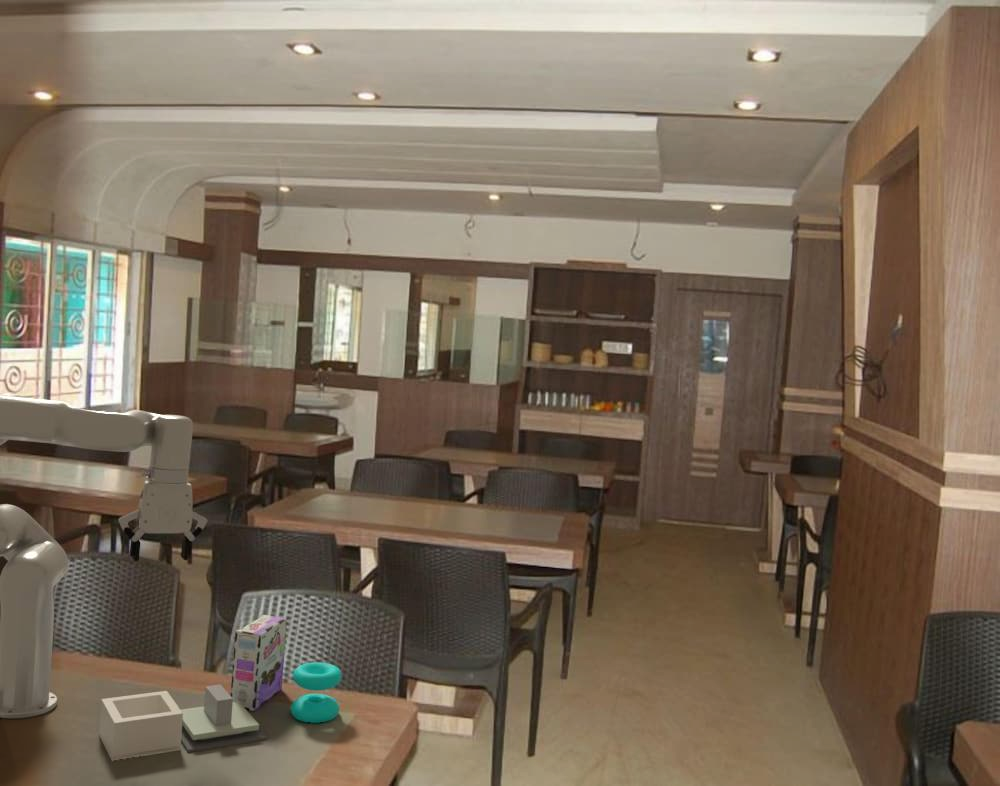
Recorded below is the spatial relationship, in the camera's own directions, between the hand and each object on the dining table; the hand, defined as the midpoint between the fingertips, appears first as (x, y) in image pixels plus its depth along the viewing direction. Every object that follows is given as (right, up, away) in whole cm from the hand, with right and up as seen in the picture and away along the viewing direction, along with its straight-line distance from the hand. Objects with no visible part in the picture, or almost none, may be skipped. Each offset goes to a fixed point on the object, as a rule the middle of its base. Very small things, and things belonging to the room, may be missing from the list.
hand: (160, 559), depth 190 cm
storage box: (+1, -32, -14) cm, 35 cm away
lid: (+13, -32, -7) cm, 35 cm away
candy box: (+17, -32, +11) cm, 38 cm away
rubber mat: (+13, -33, -6) cm, 36 cm away
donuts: (+30, -34, +5) cm, 46 cm away
